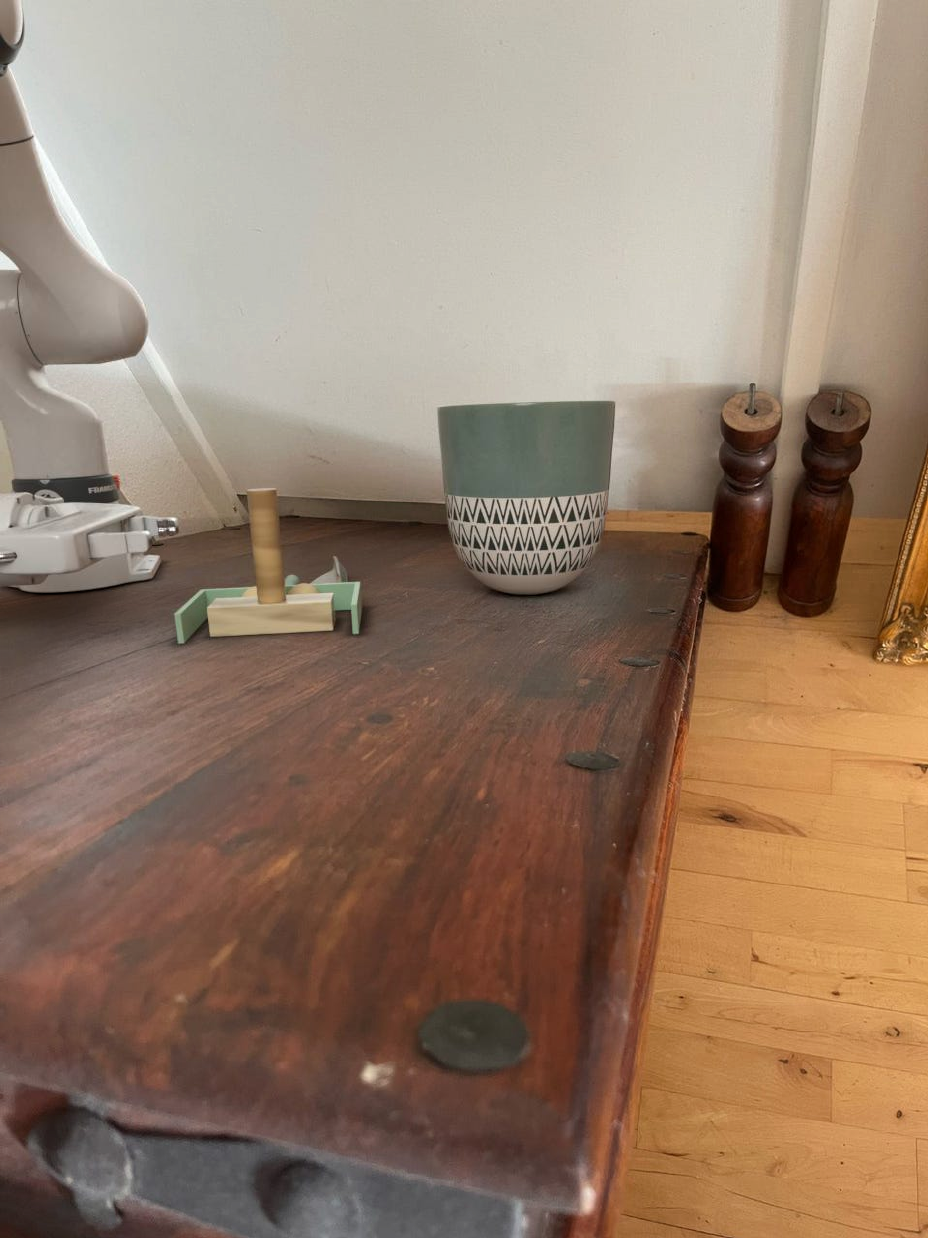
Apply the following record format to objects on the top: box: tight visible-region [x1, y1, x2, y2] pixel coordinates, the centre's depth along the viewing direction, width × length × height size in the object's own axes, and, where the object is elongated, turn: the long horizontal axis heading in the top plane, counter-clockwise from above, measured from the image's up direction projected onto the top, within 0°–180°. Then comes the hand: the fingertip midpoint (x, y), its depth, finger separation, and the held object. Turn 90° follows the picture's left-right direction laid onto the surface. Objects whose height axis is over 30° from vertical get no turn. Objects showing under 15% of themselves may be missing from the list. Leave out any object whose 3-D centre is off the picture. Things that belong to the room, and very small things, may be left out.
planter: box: [436, 400, 616, 596], centre depth 86 cm, size 20×20×21 cm
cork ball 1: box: [242, 585, 257, 597], centre depth 79 cm, size 4×4×4 cm
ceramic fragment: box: [309, 555, 349, 584], centre depth 92 cm, size 14×5×4 cm, turn 12°
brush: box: [207, 487, 337, 638], centre depth 74 cm, size 4×12×14 cm, turn 96°
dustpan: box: [173, 574, 363, 645], centre depth 81 cm, size 20×17×3 cm
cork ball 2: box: [288, 582, 319, 595], centre depth 80 cm, size 4×4×4 cm
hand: (164, 533), depth 72 cm, fingers open, 8 cm apart
